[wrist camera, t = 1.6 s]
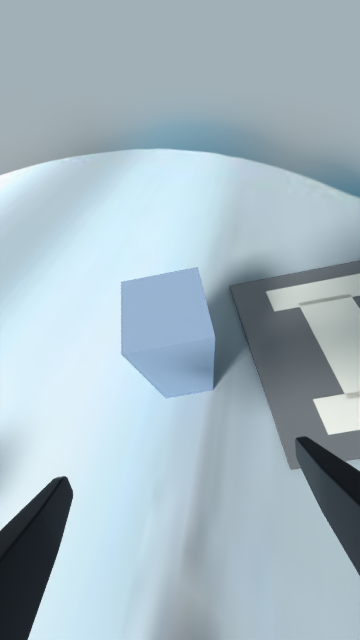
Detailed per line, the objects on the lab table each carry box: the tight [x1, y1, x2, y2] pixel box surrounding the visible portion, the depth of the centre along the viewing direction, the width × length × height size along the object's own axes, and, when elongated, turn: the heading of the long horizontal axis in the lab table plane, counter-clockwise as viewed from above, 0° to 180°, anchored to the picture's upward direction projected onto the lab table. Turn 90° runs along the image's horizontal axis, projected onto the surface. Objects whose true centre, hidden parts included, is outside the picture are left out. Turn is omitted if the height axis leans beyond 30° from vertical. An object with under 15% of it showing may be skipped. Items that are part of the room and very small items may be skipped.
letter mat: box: [230, 261, 360, 469], centre depth 23 cm, size 20×20×1 cm
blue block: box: [121, 267, 215, 398], centre depth 18 cm, size 5×5×13 cm
